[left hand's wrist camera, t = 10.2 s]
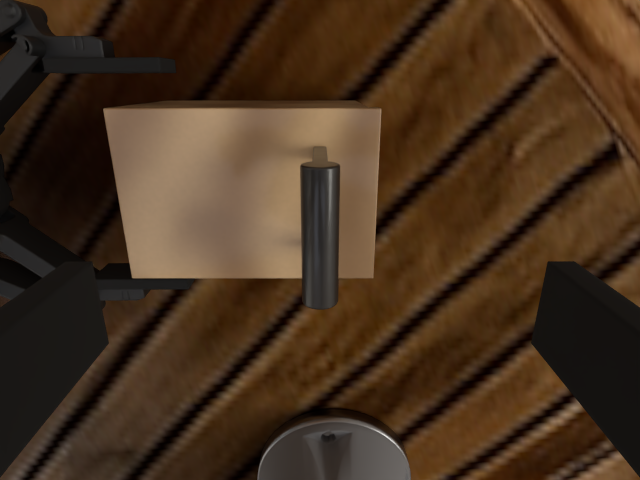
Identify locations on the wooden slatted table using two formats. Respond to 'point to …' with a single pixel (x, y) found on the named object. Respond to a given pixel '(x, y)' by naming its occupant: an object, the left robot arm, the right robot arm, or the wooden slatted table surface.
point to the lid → (248, 192)
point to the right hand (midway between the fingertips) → (182, 179)
